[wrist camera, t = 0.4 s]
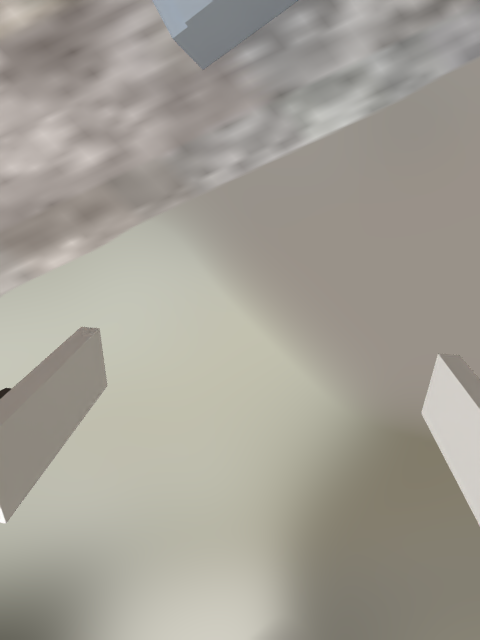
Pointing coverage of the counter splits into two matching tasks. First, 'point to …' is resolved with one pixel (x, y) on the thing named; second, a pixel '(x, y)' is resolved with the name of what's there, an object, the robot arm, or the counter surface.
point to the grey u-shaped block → (215, 23)
